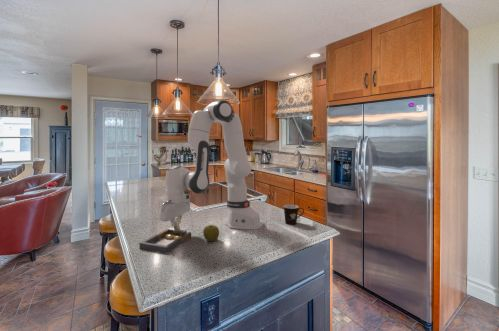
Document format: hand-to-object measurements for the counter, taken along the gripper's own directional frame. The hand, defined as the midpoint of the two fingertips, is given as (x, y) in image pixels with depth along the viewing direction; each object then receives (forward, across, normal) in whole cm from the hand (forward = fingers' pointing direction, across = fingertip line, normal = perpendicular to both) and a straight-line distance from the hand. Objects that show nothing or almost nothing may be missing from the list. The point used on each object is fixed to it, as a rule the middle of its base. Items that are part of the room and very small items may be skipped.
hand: (176, 224), depth 134 cm
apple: (+6, +2, -19) cm, 20 cm away
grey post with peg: (+6, +1, 0) cm, 6 cm away
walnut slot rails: (+6, -3, 0) cm, 7 cm away
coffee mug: (+6, +41, -52) cm, 66 cm away
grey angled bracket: (+6, -12, 0) cm, 14 cm away
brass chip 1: (+6, -2, +2) cm, 7 cm away
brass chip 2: (+6, -2, -3) cm, 7 cm away
